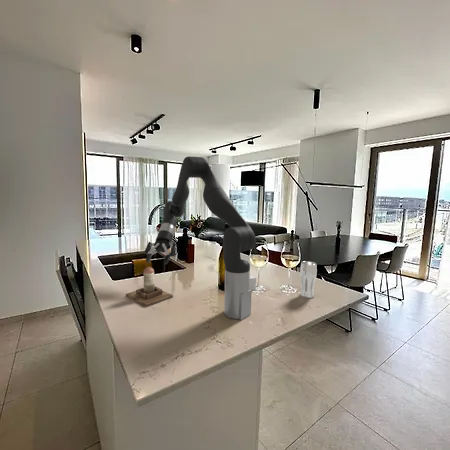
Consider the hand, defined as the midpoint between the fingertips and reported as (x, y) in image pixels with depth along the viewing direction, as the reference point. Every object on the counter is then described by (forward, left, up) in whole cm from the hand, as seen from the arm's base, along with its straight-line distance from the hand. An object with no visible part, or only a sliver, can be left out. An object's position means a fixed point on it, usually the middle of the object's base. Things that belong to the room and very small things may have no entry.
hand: (156, 262), depth 119 cm
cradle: (-4, +7, -13) cm, 15 cm away
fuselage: (-4, +7, -12) cm, 14 cm away
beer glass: (-55, -41, -13) cm, 70 cm away
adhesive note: (-30, -30, -13) cm, 45 cm away
